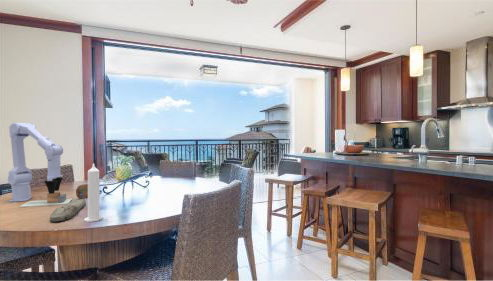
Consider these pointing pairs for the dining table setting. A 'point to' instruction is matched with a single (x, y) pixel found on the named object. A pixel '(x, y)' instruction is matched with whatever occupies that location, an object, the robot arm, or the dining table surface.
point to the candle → (93, 195)
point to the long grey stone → (67, 210)
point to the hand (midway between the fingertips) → (53, 192)
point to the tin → (82, 191)
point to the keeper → (53, 197)
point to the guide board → (61, 201)
